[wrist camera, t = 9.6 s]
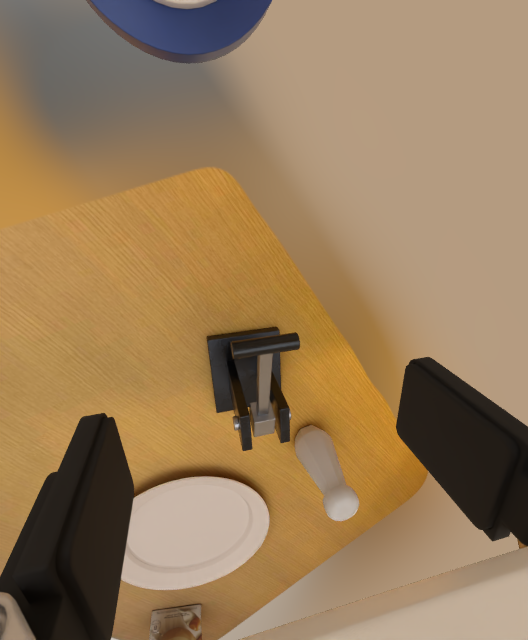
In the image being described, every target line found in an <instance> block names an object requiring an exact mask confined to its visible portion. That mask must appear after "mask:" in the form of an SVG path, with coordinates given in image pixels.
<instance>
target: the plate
mask: <svg viewBox="0 0 528 640" xmlns="http://www.w3.org/2000/svg"><path fill="white" fill-rule="evenodd" d="M268 527H269V511H268V508H267V505H266V503H265V502H264V500H263V498H262V497H261V496H260V495H259V494H258V493H257V492H256V491H255V490H253V489H252V488H250V487H249V486H247V485H245V484H243V483H240V482H238V481H235V480H231V479H227V478H221V477H210V476H203V477H190V478H183V479H178V480H174V481H170V482H167V483H164V484H161V485H158V486H156V487H153V488H151V489H149V490H147V491H145V492H143V493H141V494H139V495H138V496H136V497H135V498H134V499H133V505H132V512H131V518H130V524H129V531H128V537H127V543H126V550H125V556H124V562H123V569H122V575H121V580H123V581H125V582H127V583H129V584H132V585H135V586H138V587H142V588H147V589H155V590H176V589H184V588H190V587H194V586H198V585H202V584H205V583H208V582H211V581H214V580H216V579H218V578H221V577H223V576H225V575H227V574H228V573H230V572H232V571H234V570H235V569H237V568H238V567H240V566H241V565H242V564H244V563H245V562H246V561H247V560H248V559H249V558H251V557H252V556H253V554H254V553H255V552H256V551H257V550H258V549H259V547H260V546H261V544H262V543H263V541H264V539H265V537H266V534H267V532H268Z"/></svg>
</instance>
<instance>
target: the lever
mask: <svg viewBox="0 0 528 640" xmlns="http://www.w3.org/2000/svg"><path fill="white" fill-rule="evenodd" d="M299 348H300V341H299V336H298V334H297V333H296V332H295V333H288V334H281V335H274V336H267V337H260V338H253V339H246V340H239V341H232V342H231V351H232V357H233V359H240V358H246V357H253V356H257V397H256V402H252V403H250V422H251V426H252V431H253V435H254V437H257V436H262V435H267V434H272V433H274V429H275V415H274V412H273V408H272V405H271V401H270V384H271V370H272V355H273V353H278V352H285V351H291V350H298V349H299Z"/></svg>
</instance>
